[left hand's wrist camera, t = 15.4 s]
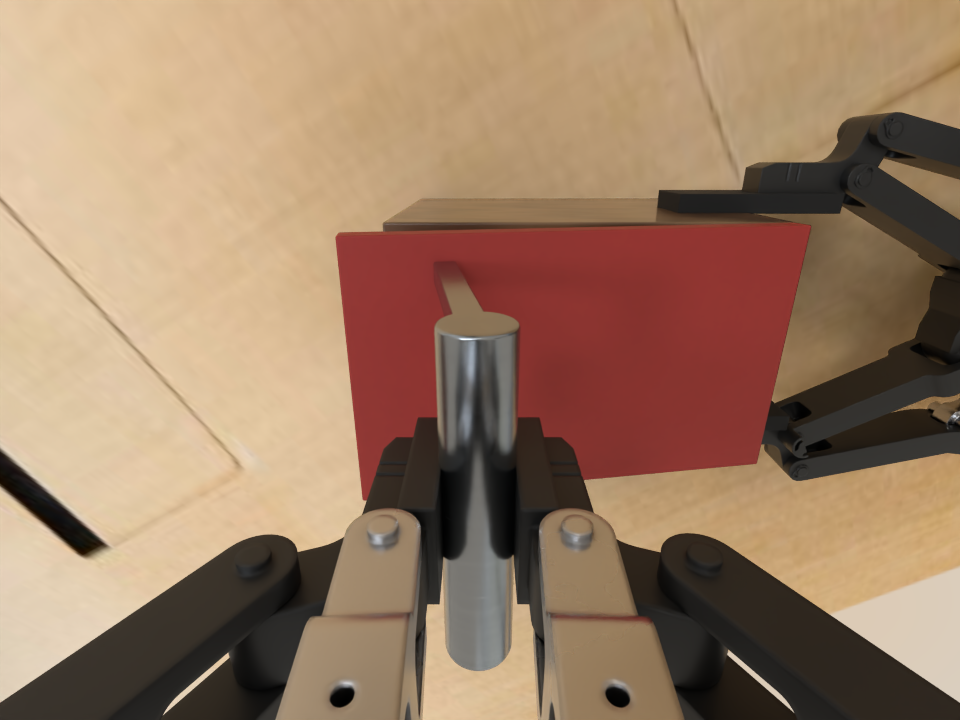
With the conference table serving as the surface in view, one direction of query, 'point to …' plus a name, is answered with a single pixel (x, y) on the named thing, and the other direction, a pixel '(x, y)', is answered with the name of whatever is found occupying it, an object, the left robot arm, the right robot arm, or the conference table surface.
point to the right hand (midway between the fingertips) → (653, 313)
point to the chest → (551, 214)
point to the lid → (559, 367)
